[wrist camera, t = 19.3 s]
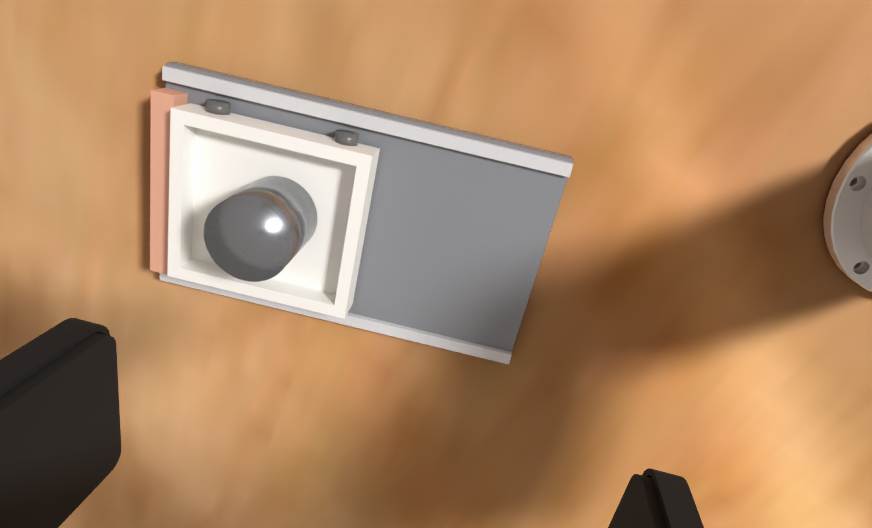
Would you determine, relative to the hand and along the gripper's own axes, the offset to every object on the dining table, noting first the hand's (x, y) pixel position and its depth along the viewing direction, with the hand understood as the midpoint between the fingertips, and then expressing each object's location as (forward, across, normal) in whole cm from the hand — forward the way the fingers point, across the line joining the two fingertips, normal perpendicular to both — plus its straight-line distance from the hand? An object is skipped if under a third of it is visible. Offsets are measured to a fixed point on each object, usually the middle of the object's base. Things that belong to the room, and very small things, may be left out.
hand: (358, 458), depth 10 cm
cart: (+25, +12, +6) cm, 29 cm away
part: (+24, +12, +6) cm, 28 cm away
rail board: (+27, +7, +6) cm, 28 cm away
